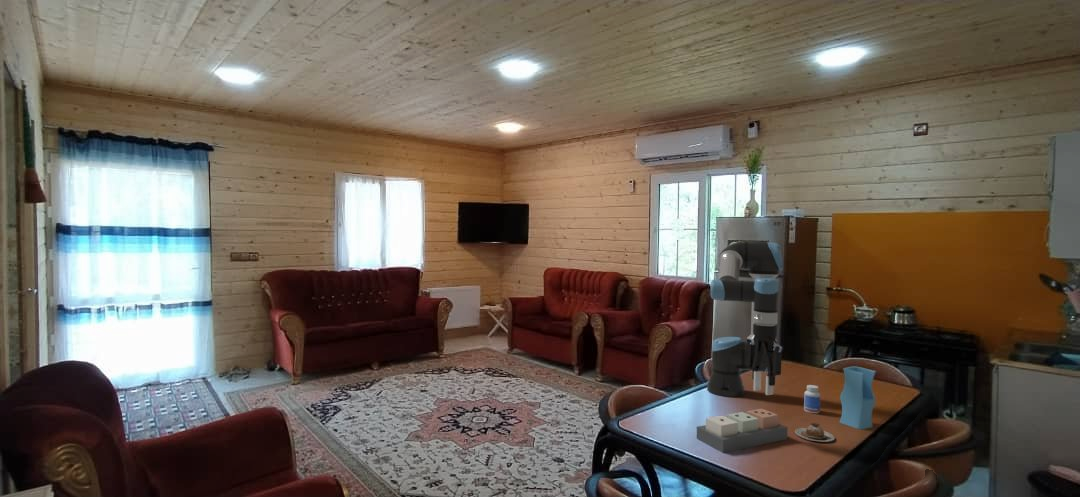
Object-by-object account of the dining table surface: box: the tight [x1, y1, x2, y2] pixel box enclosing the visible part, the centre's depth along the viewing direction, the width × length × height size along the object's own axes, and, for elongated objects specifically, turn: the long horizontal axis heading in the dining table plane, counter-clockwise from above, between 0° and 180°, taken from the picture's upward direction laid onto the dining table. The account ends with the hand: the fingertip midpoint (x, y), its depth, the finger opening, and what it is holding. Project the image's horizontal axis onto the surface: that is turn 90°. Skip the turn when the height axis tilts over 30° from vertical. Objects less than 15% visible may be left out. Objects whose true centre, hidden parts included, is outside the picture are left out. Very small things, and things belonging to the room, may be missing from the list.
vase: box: [839, 366, 877, 430], centre depth 190 cm, size 8×8×20 cm
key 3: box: [746, 408, 779, 429], centre depth 179 cm, size 7×7×4 cm
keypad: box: [696, 423, 788, 453], centre depth 176 cm, size 12×28×4 cm, turn 114°
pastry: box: [794, 422, 835, 443], centre depth 179 cm, size 12×12×5 cm
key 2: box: [726, 411, 759, 433], centre depth 176 cm, size 7×7×4 cm
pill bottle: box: [803, 384, 821, 414], centre depth 204 cm, size 6×5×10 cm
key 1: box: [705, 415, 738, 437], centre depth 172 cm, size 7×7×4 cm
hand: (763, 392), depth 179 cm, fingers open, 4 cm apart
